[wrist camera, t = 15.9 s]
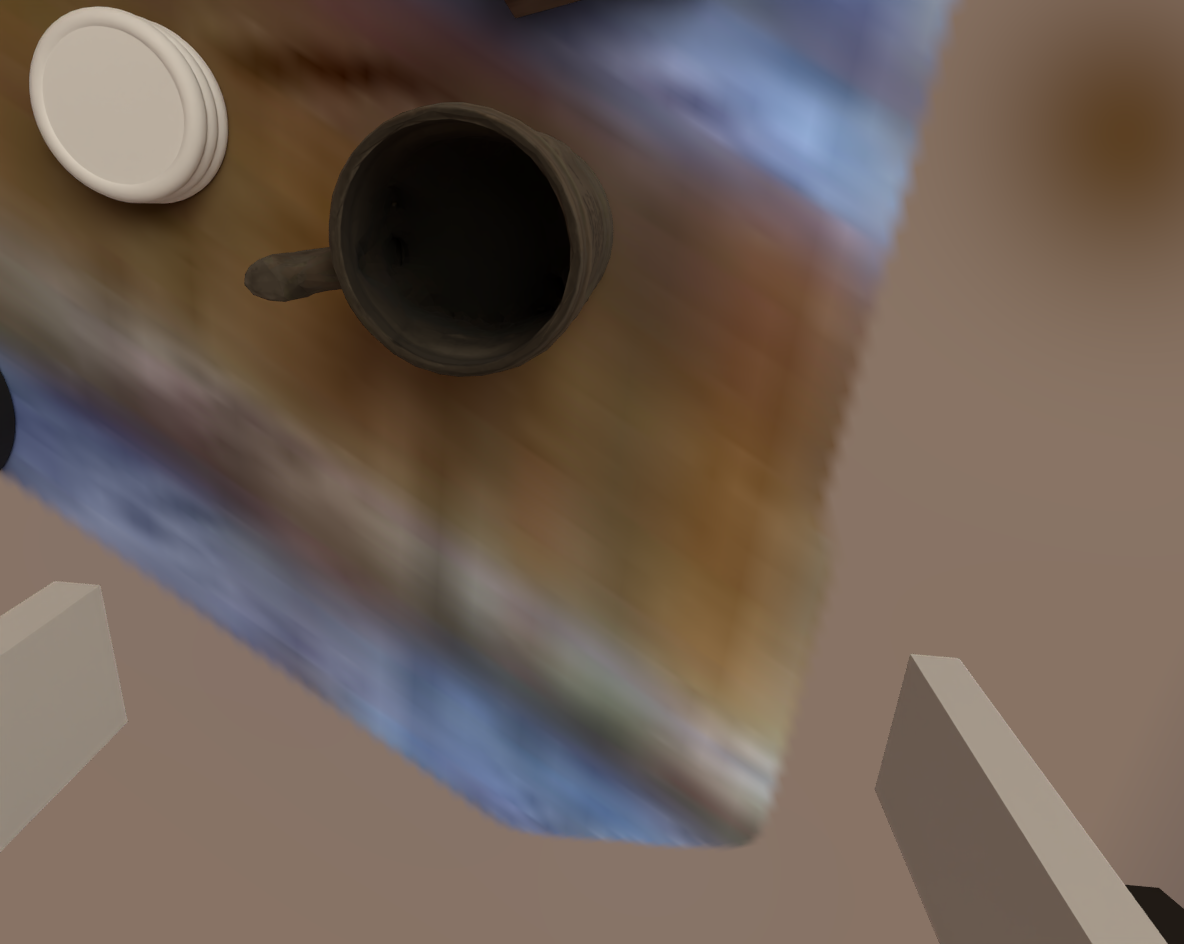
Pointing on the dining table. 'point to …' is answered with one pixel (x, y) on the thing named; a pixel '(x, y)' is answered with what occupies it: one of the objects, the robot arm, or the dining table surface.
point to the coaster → (127, 106)
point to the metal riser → (533, 6)
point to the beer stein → (456, 240)
